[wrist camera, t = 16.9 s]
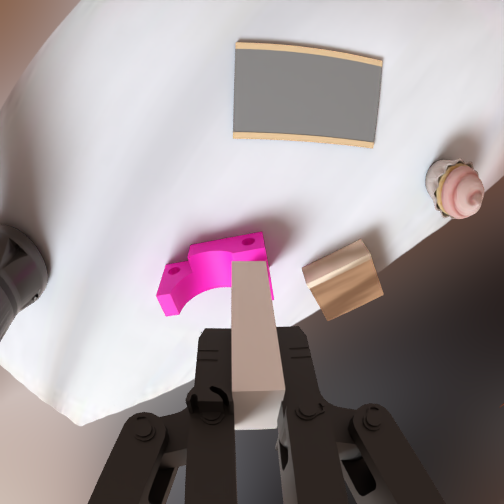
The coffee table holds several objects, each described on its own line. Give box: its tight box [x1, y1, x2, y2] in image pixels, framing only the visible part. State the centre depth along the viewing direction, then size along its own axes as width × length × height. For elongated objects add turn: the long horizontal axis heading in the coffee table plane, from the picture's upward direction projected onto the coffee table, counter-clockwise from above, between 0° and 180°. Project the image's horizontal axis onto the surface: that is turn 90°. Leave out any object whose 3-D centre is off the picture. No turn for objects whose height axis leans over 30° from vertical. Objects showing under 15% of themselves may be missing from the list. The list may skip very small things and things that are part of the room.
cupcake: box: [425, 158, 484, 219], centre depth 34 cm, size 9×9×10 cm
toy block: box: [156, 232, 274, 316], centre depth 41 cm, size 15×6×8 cm, turn 100°
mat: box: [233, 42, 382, 148], centre depth 32 cm, size 18×12×1 cm, turn 88°
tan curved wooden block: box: [302, 239, 383, 321], centre depth 46 cm, size 4×10×9 cm
